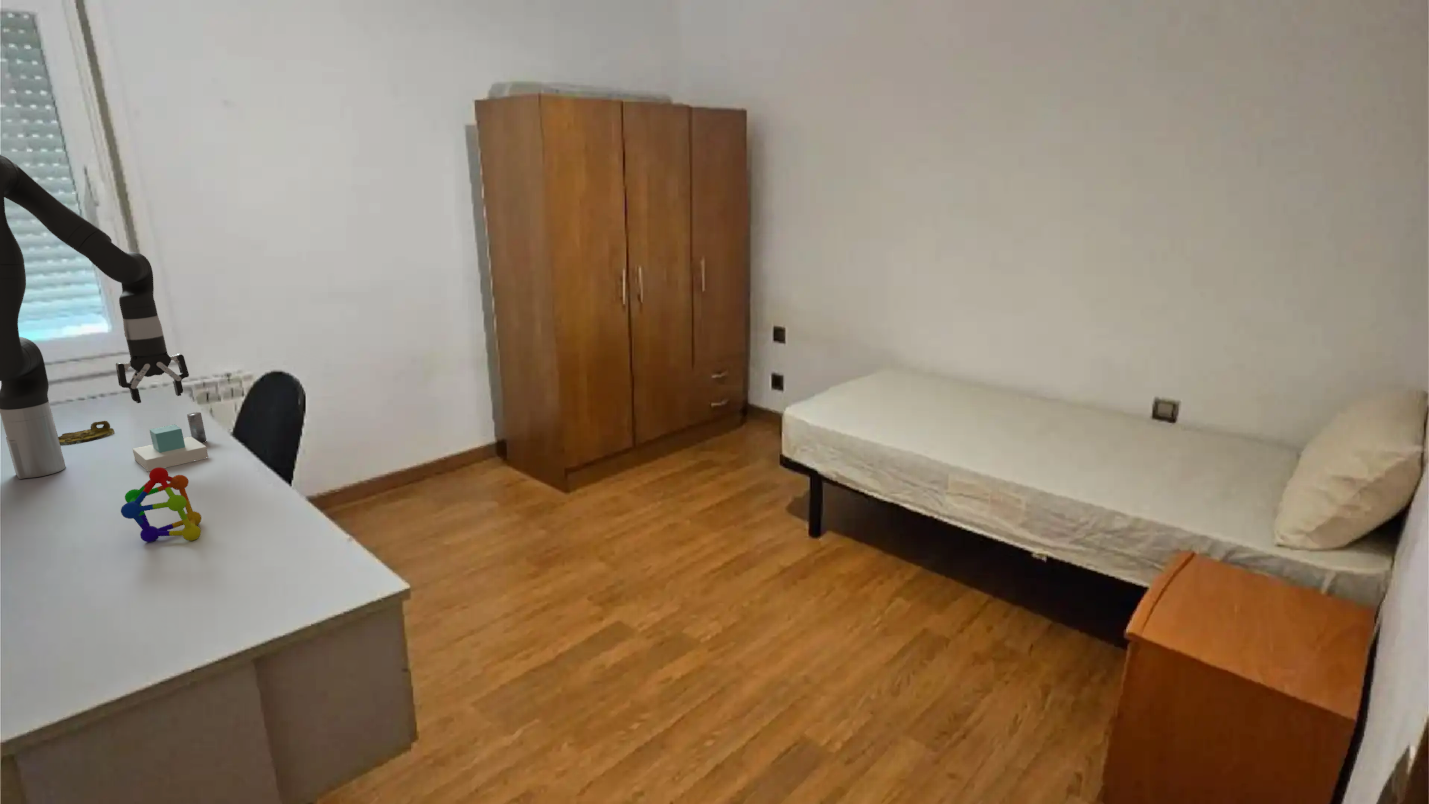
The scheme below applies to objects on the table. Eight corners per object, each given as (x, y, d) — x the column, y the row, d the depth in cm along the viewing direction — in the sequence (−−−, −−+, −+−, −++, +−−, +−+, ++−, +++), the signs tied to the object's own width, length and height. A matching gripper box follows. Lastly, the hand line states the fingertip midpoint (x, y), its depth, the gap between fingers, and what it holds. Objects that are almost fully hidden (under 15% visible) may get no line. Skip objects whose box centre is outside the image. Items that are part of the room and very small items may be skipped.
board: (148, 471, 192) (145, 460, 191) (135, 459, 200) (132, 448, 199) (208, 457, 201) (206, 446, 200) (193, 447, 209) (191, 436, 208)
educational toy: (125, 542, 156) (107, 470, 153) (200, 523, 164) (185, 454, 161) (134, 561, 144) (116, 484, 141) (215, 540, 153) (199, 466, 150)
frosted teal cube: (159, 452, 196) (155, 433, 194) (153, 448, 199) (149, 429, 198) (185, 447, 200) (181, 428, 198) (178, 442, 203) (175, 424, 202)
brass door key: (50, 453, 210) (118, 439, 220) (45, 437, 209) (114, 424, 219) (45, 442, 216) (111, 429, 226) (40, 426, 215) (107, 414, 225)
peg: (194, 444, 211) (189, 416, 209) (191, 442, 213) (185, 414, 211) (208, 441, 213) (202, 413, 211) (204, 439, 216) (198, 411, 213)
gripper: (112, 341, 184) (128, 407, 189) (182, 332, 194) (196, 395, 199) (105, 338, 189) (121, 402, 194) (174, 329, 199) (187, 390, 204)
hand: (159, 398), depth 196 cm, fingers open, 8 cm apart
